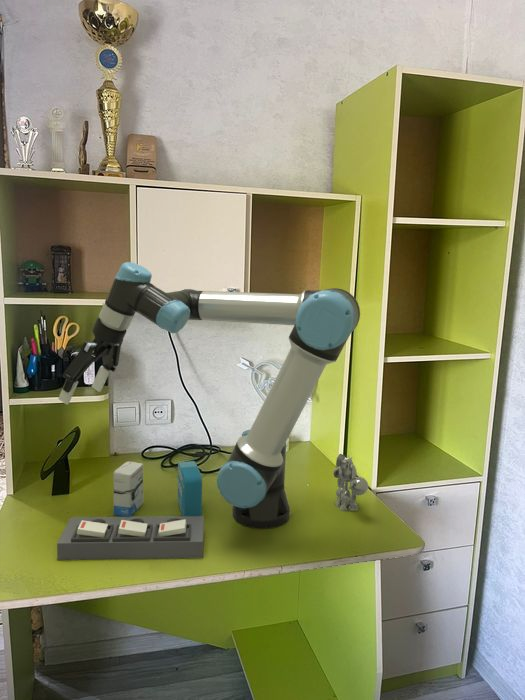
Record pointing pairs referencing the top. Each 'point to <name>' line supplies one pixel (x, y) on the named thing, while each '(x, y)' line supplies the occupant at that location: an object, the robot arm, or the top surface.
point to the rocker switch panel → (132, 540)
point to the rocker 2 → (172, 528)
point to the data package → (189, 489)
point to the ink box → (128, 488)
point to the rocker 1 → (92, 528)
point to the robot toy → (344, 476)
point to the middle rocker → (132, 528)
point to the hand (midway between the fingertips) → (80, 395)
